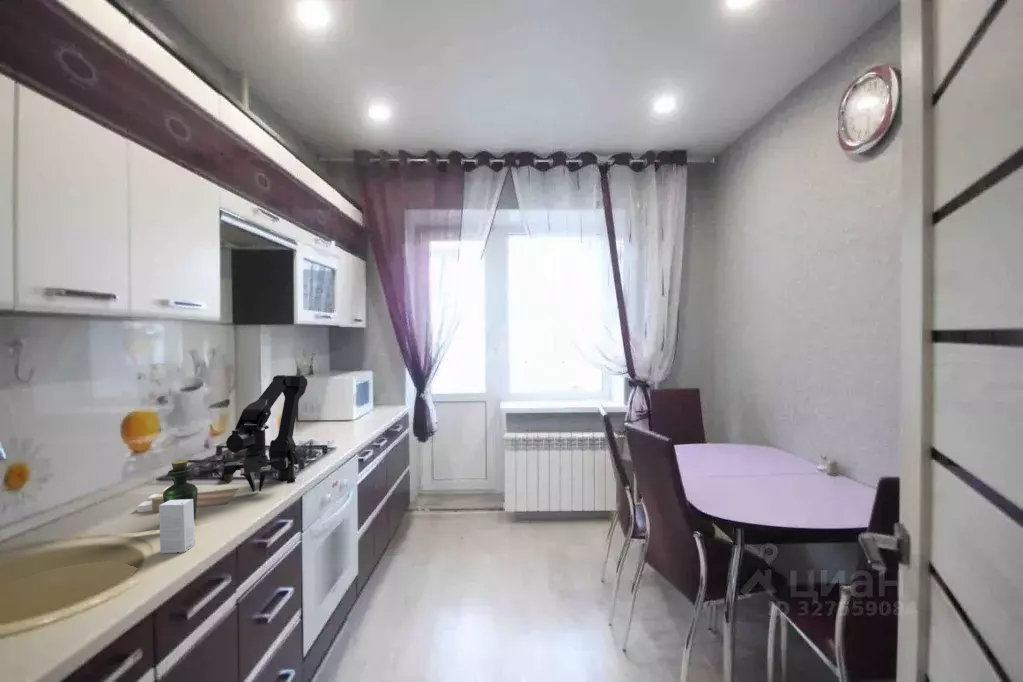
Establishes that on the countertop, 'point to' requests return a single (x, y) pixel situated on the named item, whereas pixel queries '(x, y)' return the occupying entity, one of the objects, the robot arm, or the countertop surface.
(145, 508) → the white square block
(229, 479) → the hand tool
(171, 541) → the skincare box
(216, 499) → the walnut board
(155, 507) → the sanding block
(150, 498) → the plain white cube
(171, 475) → the potion bottle
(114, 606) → the countertop surface
